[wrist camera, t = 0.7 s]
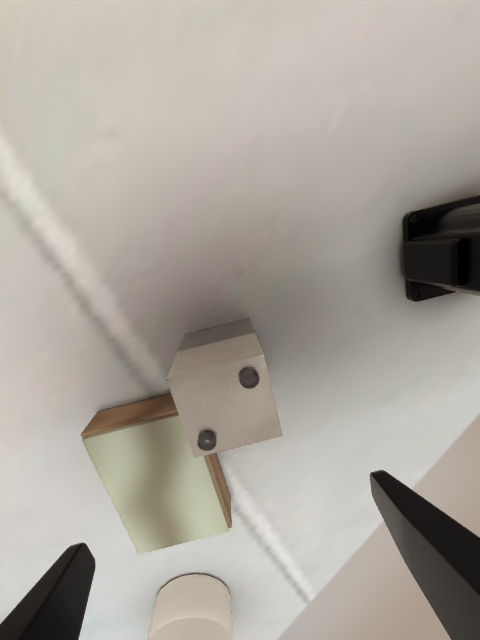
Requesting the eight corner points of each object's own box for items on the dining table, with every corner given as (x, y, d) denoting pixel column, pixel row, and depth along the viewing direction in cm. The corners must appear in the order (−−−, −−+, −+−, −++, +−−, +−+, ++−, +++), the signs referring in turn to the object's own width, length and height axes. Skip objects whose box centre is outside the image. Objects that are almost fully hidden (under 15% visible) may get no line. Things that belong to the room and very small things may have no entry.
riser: (194, 387, 21) (190, 409, 18) (230, 498, 24) (231, 532, 21) (97, 411, 21) (77, 438, 18) (147, 519, 24) (136, 556, 21)
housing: (248, 318, 19) (264, 356, 12) (262, 375, 21) (283, 439, 14) (184, 334, 19) (164, 382, 12) (202, 390, 21) (193, 462, 14)
